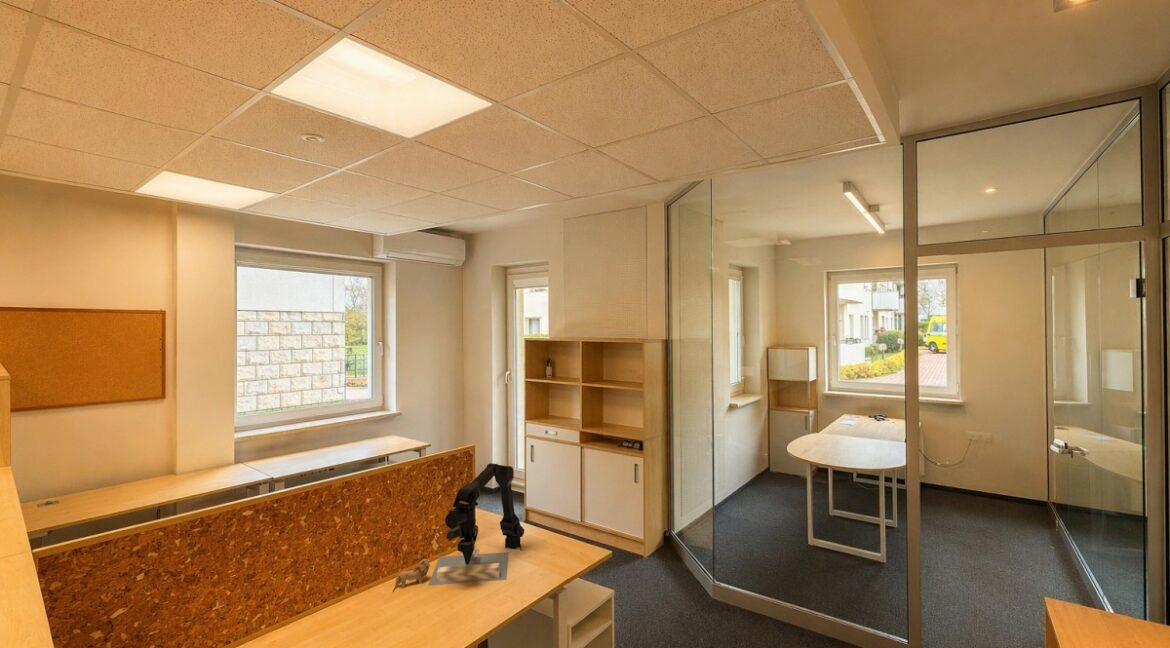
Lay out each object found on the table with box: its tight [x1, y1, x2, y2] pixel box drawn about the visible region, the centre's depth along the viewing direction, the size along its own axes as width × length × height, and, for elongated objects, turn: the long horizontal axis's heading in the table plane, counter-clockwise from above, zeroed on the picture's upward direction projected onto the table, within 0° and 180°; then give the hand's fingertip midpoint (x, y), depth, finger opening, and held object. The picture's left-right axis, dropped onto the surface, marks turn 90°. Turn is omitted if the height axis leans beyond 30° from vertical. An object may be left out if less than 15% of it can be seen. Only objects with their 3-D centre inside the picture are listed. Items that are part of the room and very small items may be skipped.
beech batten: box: [437, 563, 500, 582], centre depth 198 cm, size 24×4×4 cm, turn 97°
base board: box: [428, 551, 509, 586], centre depth 207 cm, size 30×25×1 cm
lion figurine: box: [392, 558, 431, 593], centre depth 194 cm, size 15×5×9 cm, turn 130°
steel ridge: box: [465, 545, 480, 565], centre depth 211 cm, size 5×8×5 cm, turn 7°
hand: (468, 558), depth 199 cm, fingers open, 9 cm apart
